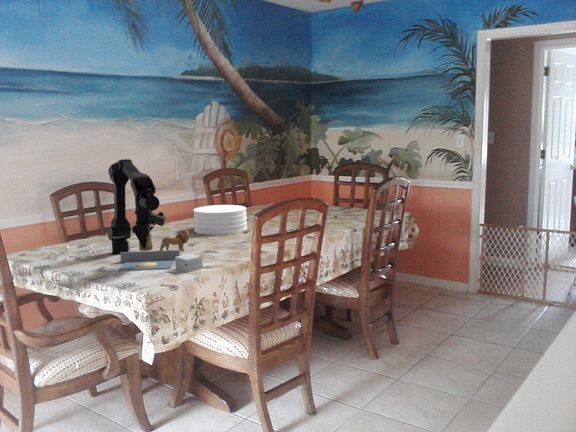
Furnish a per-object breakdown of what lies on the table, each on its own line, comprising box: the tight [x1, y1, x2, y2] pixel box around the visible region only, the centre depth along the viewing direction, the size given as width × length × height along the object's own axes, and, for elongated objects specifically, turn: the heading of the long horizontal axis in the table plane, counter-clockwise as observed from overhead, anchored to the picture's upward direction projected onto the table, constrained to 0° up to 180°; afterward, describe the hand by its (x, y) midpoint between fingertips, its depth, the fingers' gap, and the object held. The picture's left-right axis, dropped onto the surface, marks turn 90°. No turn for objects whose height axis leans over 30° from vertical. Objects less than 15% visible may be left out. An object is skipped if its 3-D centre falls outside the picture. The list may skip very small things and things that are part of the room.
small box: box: [174, 253, 204, 273], centre depth 217 cm, size 8×8×5 cm
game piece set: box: [49, 244, 98, 261], centre depth 245 cm, size 19×20×4 cm
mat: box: [117, 260, 175, 272], centre depth 223 cm, size 20×12×1 cm, turn 95°
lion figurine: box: [158, 229, 191, 252], centre depth 248 cm, size 15×5×9 cm, turn 121°
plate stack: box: [192, 204, 248, 236], centre depth 297 cm, size 28×28×12 cm
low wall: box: [119, 249, 181, 263], centre depth 232 cm, size 24×1×4 cm, turn 95°
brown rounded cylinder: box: [138, 232, 153, 251], centre depth 221 cm, size 5×5×6 cm
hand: (145, 246), depth 222 cm, fingers closed on brown rounded cylinder, 5 cm apart
